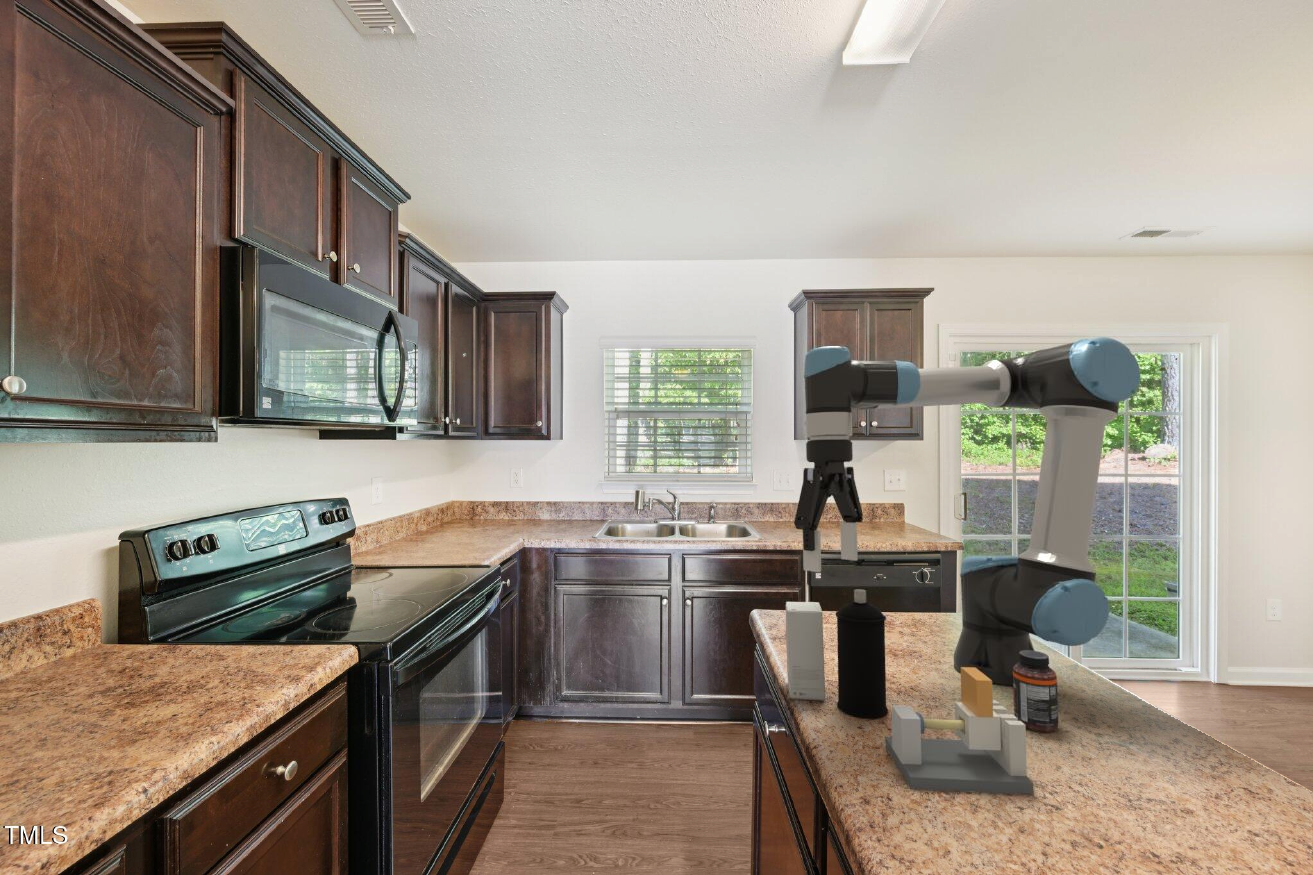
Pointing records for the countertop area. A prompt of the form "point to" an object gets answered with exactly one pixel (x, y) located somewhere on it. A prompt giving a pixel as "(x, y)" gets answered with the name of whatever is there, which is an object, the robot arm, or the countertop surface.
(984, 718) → the sleeve
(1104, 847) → the countertop surface
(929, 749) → the cord board
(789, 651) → the skincare box
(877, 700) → the aerosol can
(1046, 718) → the supplement bottle
